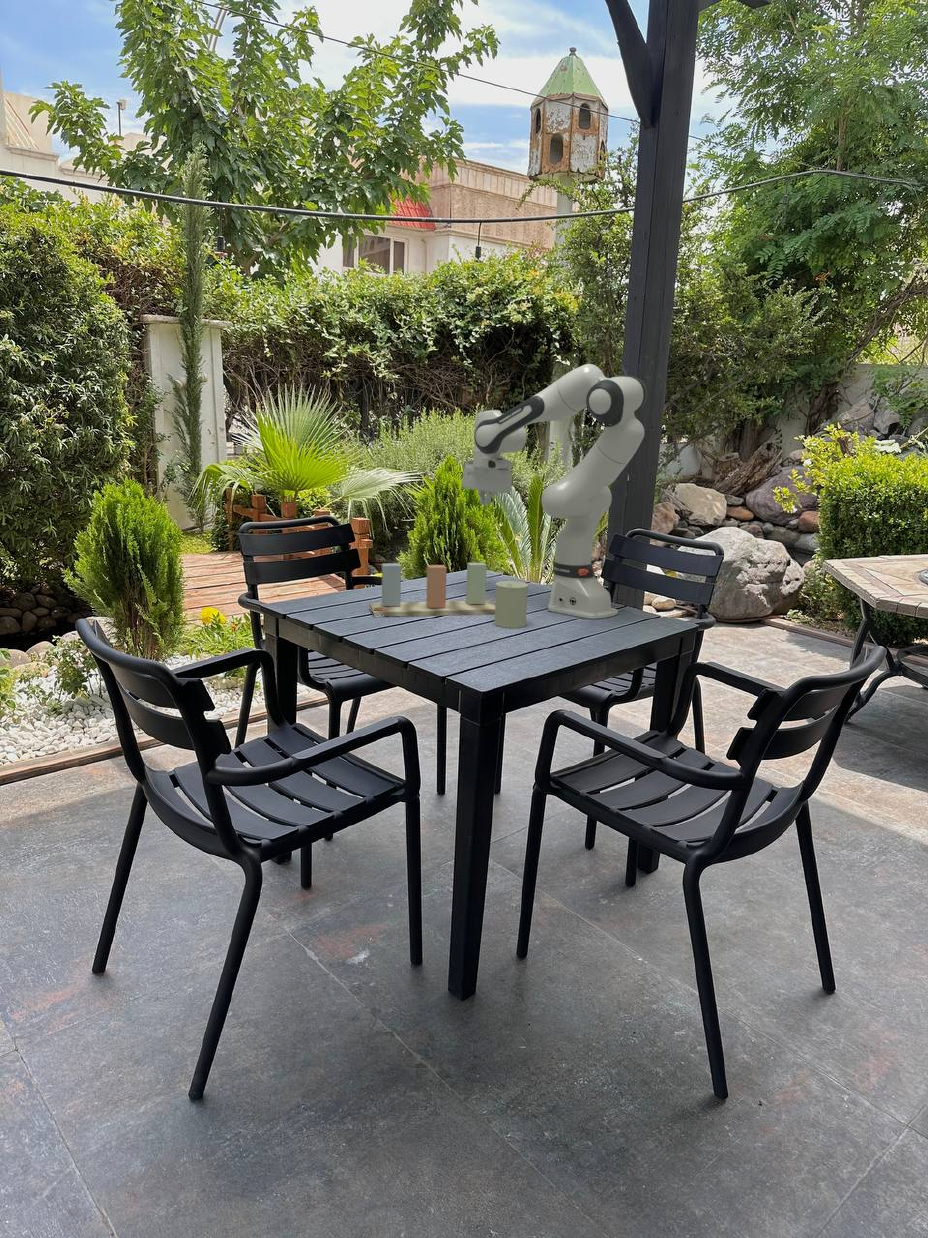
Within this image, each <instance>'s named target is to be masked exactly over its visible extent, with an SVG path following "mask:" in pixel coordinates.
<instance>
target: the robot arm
mask: <svg viewBox="0 0 928 1238" xmlns="http://www.w3.org/2000/svg"><path fill="white" fill-rule="evenodd" d="M647 400H648V389H647V385H646V384H645V382H644V381H643V380H641V379H640V378H639V377H637V376H633V375H613V376H612V377H606V376H605V375H604V372H603V371H602V370H601V368H599V367H598V366H597V365H595V364H592V363H586V364H583V365H580V366H578V367H576V368H574V369H572V370H570V371H569V372H567V373H566V374H564V375H563V376H561V377H560V378H558V379H557V380H555V381H554V382H552V383H551V384H550V385H549V386H547V387H545V388H544V389H542V390H541V391H539V392H537V393H536V394H534V395H532V396H531V397H530V398H527V399H526V400H524V401H522V402H520V403H519V404H517V405H516V406H514V407H512V408H511V409H509V410H507V411H505V412H504V413H502V412H501V410H499V409H485V410H481V411H479V412H478V413H477V415H476V417H475V421H474V426H473V427H474V428H473V429H474V431H473V439H474V440H473V441H474V448H473V454H472V455H473V457H472V458H473V459H472V460H471V459H470V460H467V461H466V462H465V464H464V467H463V472H462V478H461V479H462V480H461V486H462V488H463V489H468V490H475V491H477V495H478V497H479V499H480V503H479V504H480V505H482V506H490V505H491V500H492V498H493V496H494V493H499V494H509V493H510V492H511V490H512V487H513V486H512V484H513V483H512V482H513V477H512V476H513V474H512V471H511V470H510V469H512V468H513V467H512V466H513V463H512V462H511V461H510V460H508V459H506V458H505V457H503V456H502V454H507V453H508V454H509V453H518V452H520V451H522V450H523V449H524V448H525V446H526V444H527V442H528V441H527V439H528V434H527V433H528V432H527V430H526V427H527V426H528V425H531V424H535V423H541V422H542V423H543V422H555V421H556V422H557V421H563V420H565V419H568V418H570V417H573V416H575V415H577V414H579V412H580V411H582V410H584V409H585V408H586V407H587V410H588V411H589V414H591V416H592V417H593V418H594V419H596V422H597V423H598V424H599V425H600V426H601V427H604V430H603V431H602V433H601V434H600V436H598V439H597V440H596V441H595V442H594V444H593V446H592V447H591V448H590V449H589V450H588V452H587V453H586V454H585V456H584V458H582V459H581V461H579V463H577V464H576V465H575V466H574V467H573V468H571V470H570V471H568V472H567V473H566V474H564V475H563V476H562V478H560V479H558V480H557V481H555V482H554V483H551V484H550V485H548V486H547V487H545V489H544V490H543V492H542V494H541V506H542V510H543V511H544V513H545V514H546V515H547V516H549V517H551V518H557V519H561V520H566V523H565V525H564V527H563V529H562V530H561V531H560V532H559V533H558V534H557V536H556V539H555V555H554V556H555V557H554V561H553V565H552V574H553V580H552V586H551V590H550V595H549V597H548V598H549V599H548V602H547V604H546V606H547V611H549V612H553V613H558V614H563V615H568V616H573V617H578V618H584V619H589V620H590V619H591V620H592V619H593V620H596V619H605V618H609V617H614V616H616V615H618V614H619V610H618V609H616V608H614V607H612V600H611V594H610V592H609V591H608V590H607V589H606V588H605V587H604V585H602V583H601V582H600V581H599V579H597V577H595V576H596V574H595V573H596V572H598V569H599V568H598V567H594V566H593V563H592V556H593V554H592V553H593V543H594V538H595V535H596V531H597V528H598V525H599V523H600V521H601V519H602V517H603V516H604V514H605V513H606V512H607V511H608V510H609V509H610V508H611V504H612V497H613V496H612V491H611V490H610V487H608V486H609V485H611V484H613V483H614V482H615V481H616V479H617V478H618V477H619V476H620V474H621V472H623V471H624V469H625V468H626V466H627V465H628V464H629V462H630V461H631V460H632V458H633V457H634V455H635V454H636V452H637V450H638V449H639V447H640V445H641V443H642V441H643V439H644V437H645V428H644V426H643V423H642V422H641V421H640V420H639V419H638V418H637V417H636V416H635V415H636V414H635V413H637V412H638V411H640V410H641V409H642V408H643V407H644V405H645V404H646V402H647Z"/></svg>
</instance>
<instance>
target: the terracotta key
mask: <svg viewBox="0 0 928 1238" xmlns="http://www.w3.org/2000/svg"><path fill="white" fill-rule="evenodd" d="M446 601H447V567H446V566H445V564H428V565H427V566H426V602H427V603H426V605H427V606H428V607H429V608H445V607H446Z"/></svg>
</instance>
